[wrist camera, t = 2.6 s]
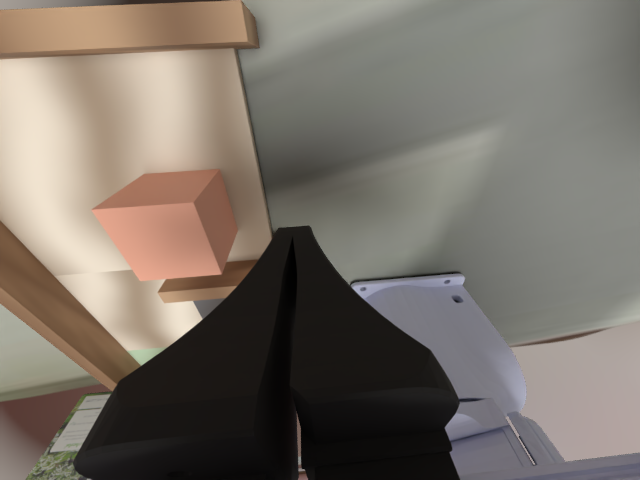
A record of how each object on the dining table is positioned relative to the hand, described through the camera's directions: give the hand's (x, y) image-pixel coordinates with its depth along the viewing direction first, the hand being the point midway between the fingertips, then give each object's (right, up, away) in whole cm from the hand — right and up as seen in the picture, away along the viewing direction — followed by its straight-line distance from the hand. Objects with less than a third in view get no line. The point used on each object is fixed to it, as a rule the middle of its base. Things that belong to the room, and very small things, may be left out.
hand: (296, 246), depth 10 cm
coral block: (-6, +2, +4) cm, 8 cm away
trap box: (-10, -2, +8) cm, 12 cm away
